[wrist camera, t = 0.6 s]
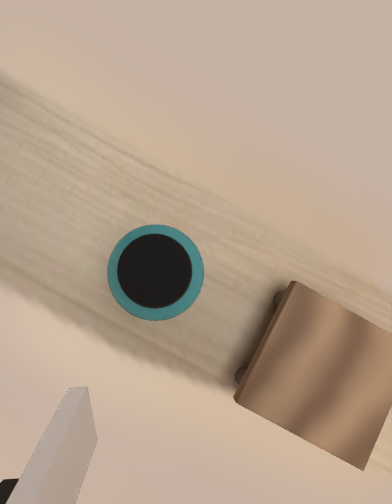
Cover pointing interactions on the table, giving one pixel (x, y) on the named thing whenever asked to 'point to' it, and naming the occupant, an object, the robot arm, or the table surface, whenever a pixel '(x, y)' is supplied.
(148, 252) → the beverage bottle
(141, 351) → the table surface
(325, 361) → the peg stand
